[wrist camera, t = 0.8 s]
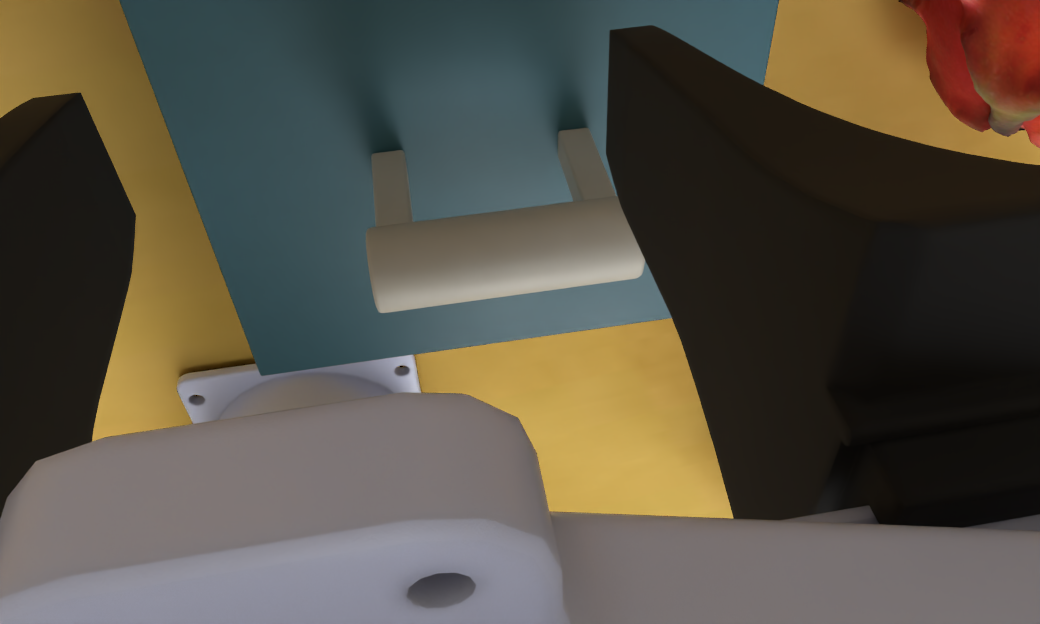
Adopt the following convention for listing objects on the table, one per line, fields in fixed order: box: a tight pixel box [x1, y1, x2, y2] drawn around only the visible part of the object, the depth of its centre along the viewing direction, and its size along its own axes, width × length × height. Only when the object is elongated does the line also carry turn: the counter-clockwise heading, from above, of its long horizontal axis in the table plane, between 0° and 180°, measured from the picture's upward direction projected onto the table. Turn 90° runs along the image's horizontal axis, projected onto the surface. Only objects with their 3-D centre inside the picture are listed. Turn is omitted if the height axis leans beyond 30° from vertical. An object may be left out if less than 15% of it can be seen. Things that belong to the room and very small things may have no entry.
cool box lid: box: [119, 0, 779, 376], centre depth 17 cm, size 13×12×5 cm
